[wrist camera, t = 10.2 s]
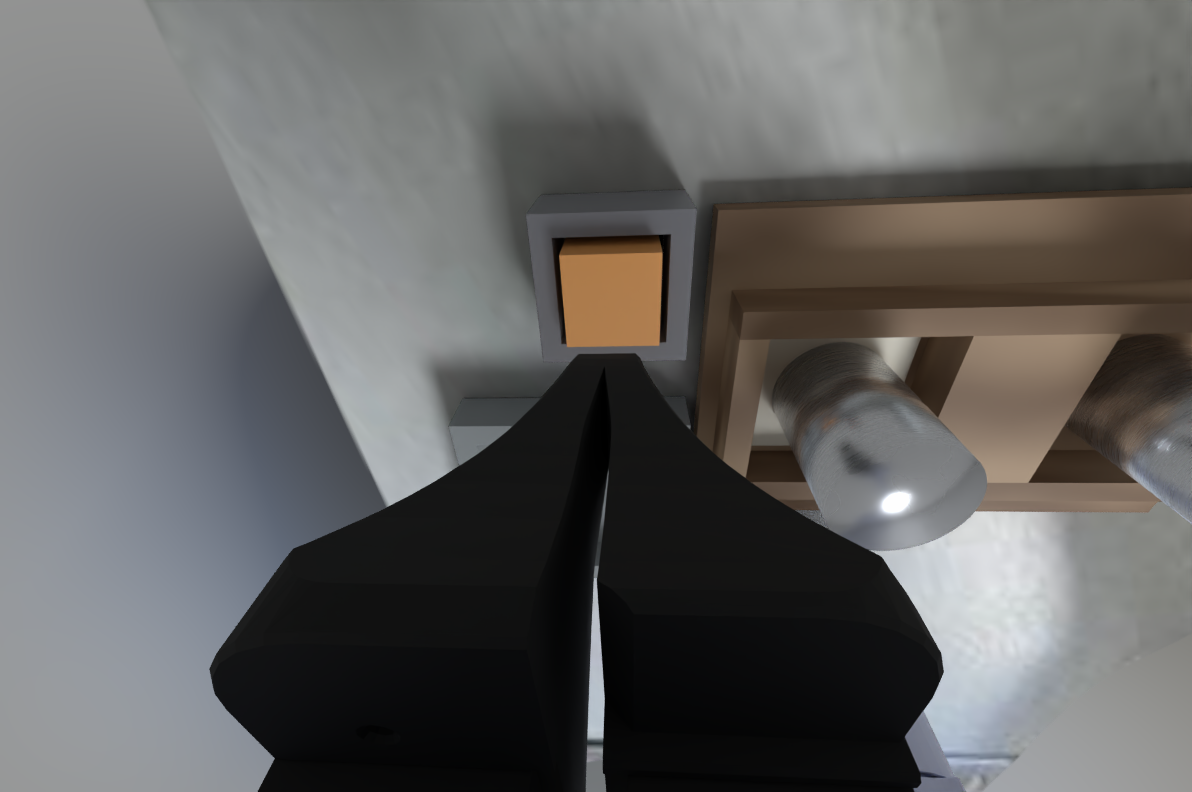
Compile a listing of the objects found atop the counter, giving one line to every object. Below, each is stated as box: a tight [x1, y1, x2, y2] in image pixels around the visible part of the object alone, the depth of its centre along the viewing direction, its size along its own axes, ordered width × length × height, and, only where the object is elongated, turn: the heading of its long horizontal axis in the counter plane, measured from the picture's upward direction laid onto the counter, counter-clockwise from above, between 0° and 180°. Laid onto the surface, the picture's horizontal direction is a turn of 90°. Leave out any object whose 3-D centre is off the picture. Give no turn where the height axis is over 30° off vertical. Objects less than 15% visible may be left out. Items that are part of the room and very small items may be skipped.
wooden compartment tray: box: [693, 187, 1192, 512], centre depth 18 cm, size 14×21×3 cm, turn 93°
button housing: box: [526, 190, 697, 362], centre depth 16 cm, size 5×5×3 cm
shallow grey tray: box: [448, 397, 691, 578], centre depth 23 cm, size 10×10×2 cm
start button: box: [559, 235, 663, 347], centre depth 16 cm, size 3×3×3 cm
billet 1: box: [772, 342, 987, 551], centre depth 16 cm, size 4×4×6 cm
